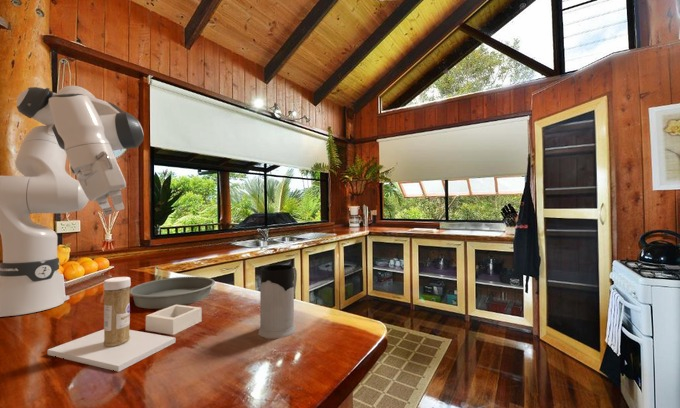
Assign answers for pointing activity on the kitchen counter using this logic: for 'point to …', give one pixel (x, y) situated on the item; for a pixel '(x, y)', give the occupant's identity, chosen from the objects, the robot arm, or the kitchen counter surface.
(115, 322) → the sprinkles bottle
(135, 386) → the kitchen counter surface
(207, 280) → the cake pan
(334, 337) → the kitchen counter surface
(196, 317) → the stand
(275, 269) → the grey ceramic mug
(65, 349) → the white board
